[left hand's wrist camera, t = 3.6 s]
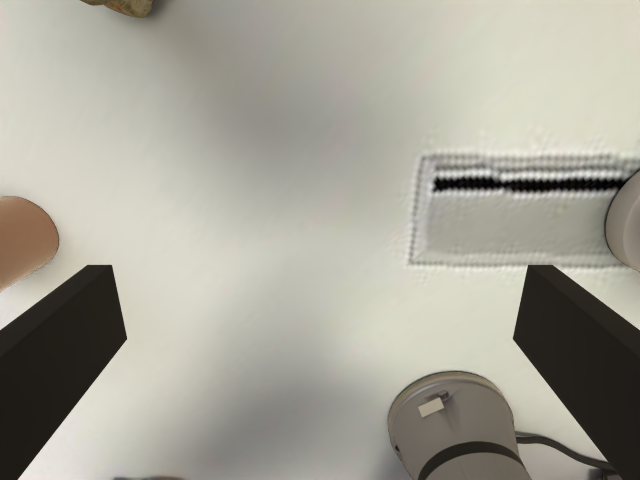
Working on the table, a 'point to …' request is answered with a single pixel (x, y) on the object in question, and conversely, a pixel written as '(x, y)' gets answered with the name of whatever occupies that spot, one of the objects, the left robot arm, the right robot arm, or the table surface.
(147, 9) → the sculpture
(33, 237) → the bottle
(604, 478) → the toy
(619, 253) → the bust sculpture
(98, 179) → the table surface
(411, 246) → the table surface
